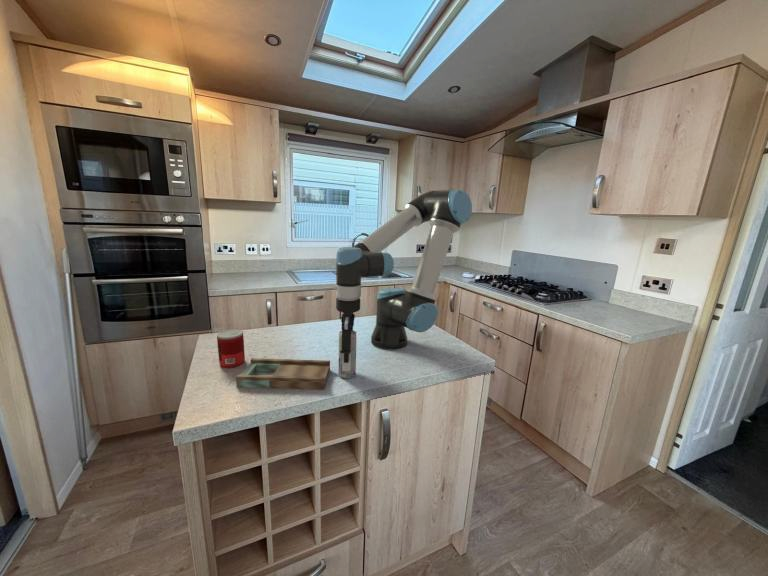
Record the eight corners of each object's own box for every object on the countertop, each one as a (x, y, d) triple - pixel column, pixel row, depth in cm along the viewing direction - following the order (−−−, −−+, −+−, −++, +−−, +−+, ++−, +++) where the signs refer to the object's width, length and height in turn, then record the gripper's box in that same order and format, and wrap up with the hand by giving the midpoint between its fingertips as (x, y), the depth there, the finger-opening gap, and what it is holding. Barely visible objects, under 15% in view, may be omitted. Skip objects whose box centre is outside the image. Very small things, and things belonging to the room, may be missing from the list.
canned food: (249, 361, 108) (248, 332, 105) (228, 370, 101) (226, 339, 98) (236, 355, 111) (234, 327, 109) (214, 364, 105) (211, 334, 102)
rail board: (330, 370, 104) (330, 360, 104) (324, 389, 93) (324, 379, 92) (252, 367, 104) (251, 358, 103) (236, 387, 92) (235, 376, 91)
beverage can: (359, 375, 102) (360, 332, 98) (346, 381, 98) (347, 337, 94) (347, 369, 105) (348, 327, 102) (335, 374, 101) (335, 332, 98)
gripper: (339, 290, 104) (339, 353, 110) (331, 305, 86) (331, 380, 92) (361, 290, 105) (360, 353, 110) (358, 306, 87) (356, 381, 92)
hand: (347, 365), depth 101 cm, fingers closed on beverage can, 5 cm apart
